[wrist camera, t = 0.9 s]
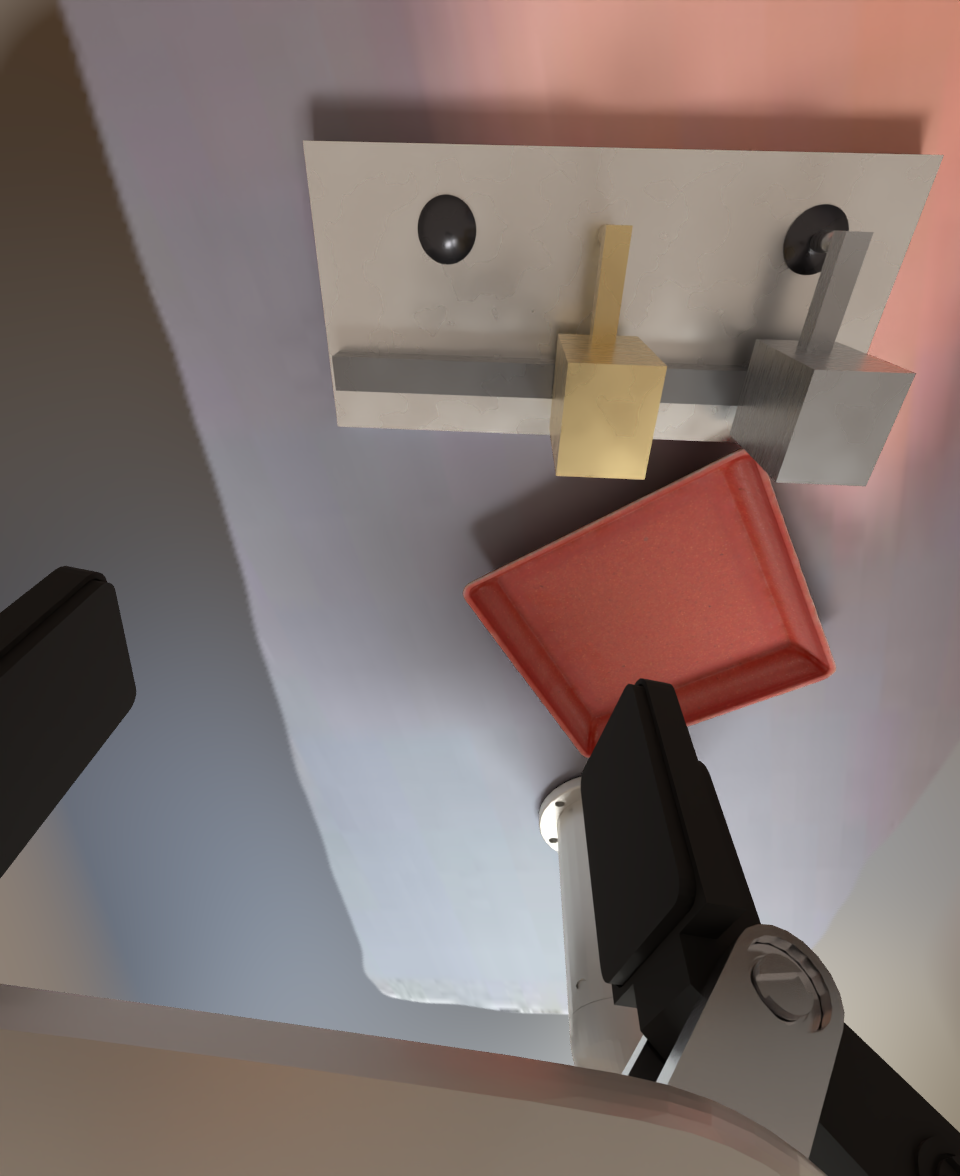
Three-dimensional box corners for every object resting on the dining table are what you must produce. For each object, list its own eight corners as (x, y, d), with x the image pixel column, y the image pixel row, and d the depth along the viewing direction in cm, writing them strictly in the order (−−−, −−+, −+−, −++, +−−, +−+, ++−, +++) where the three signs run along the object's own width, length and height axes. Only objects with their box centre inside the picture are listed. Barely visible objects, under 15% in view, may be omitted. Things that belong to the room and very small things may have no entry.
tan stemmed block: (618, 425, 28) (644, 479, 23) (548, 422, 28) (556, 475, 23) (651, 225, 24) (695, 228, 18) (566, 223, 24) (582, 225, 18)
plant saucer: (736, 422, 30) (758, 442, 28) (818, 644, 38) (841, 677, 36) (460, 562, 36) (456, 590, 34) (582, 728, 44) (586, 762, 42)
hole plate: (817, 436, 30) (911, 506, 23) (344, 417, 31) (292, 479, 24) (921, 158, 23) (1100, 133, 16) (313, 144, 24) (227, 114, 17)
